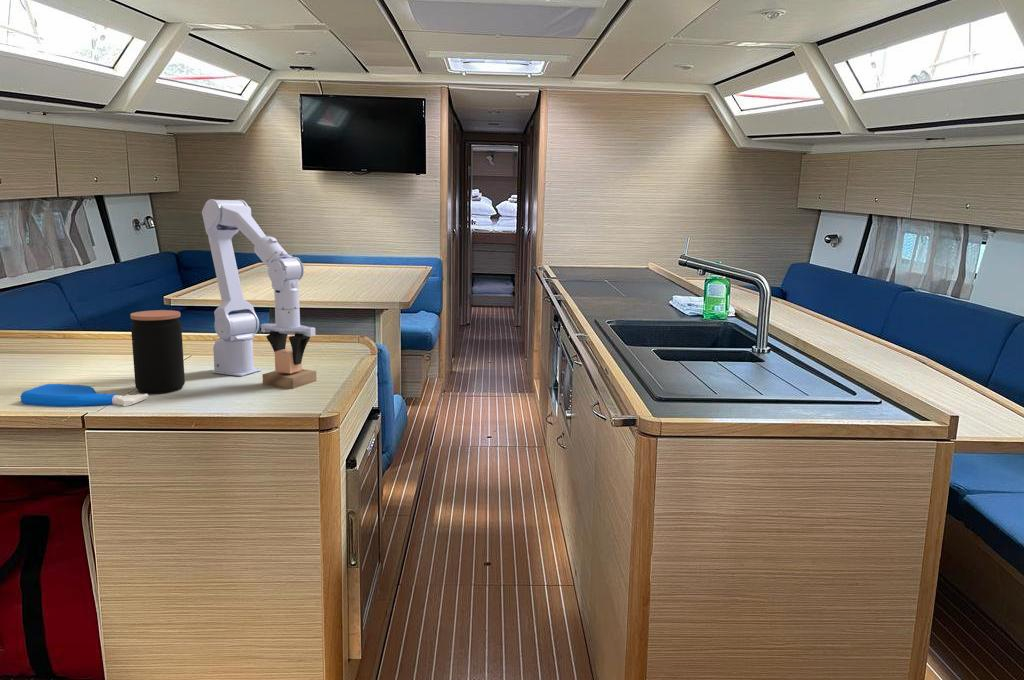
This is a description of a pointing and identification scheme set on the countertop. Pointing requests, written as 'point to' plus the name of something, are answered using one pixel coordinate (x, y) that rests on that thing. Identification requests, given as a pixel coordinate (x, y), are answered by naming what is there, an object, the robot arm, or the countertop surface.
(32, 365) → the countertop surface
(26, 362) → the countertop surface
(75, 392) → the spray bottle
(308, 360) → the countertop surface
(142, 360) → the coffee jar
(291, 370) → the peach block
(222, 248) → the robot arm
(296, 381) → the walnut box
